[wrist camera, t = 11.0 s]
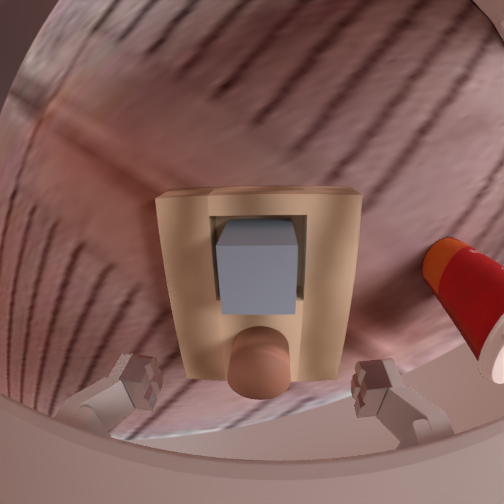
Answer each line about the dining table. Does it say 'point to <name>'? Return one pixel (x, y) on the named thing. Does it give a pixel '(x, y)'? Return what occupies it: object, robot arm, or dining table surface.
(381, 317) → the dining table surface
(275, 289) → the slate block
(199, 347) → the assembly board
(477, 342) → the paper cup
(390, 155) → the dining table surface
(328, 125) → the dining table surface
